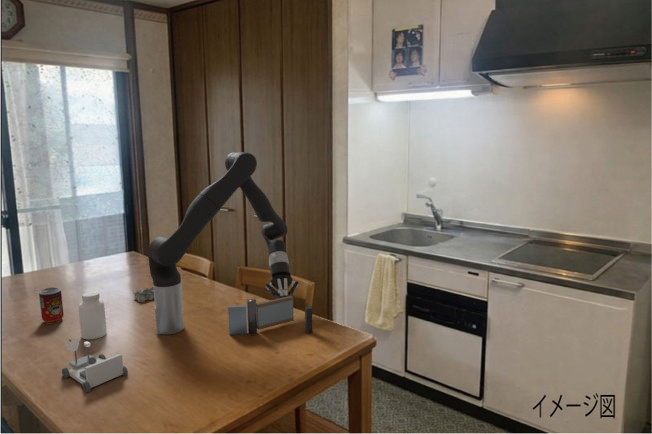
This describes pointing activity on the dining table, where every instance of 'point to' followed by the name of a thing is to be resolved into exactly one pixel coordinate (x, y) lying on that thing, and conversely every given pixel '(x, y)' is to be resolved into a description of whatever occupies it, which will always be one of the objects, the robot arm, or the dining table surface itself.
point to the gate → (274, 312)
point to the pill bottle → (92, 316)
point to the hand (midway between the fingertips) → (285, 306)
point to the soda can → (51, 305)
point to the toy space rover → (93, 367)
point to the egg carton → (144, 294)
